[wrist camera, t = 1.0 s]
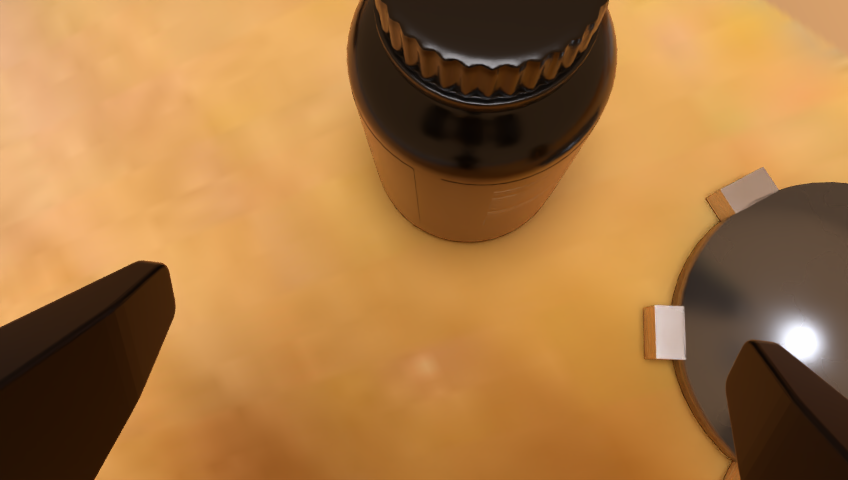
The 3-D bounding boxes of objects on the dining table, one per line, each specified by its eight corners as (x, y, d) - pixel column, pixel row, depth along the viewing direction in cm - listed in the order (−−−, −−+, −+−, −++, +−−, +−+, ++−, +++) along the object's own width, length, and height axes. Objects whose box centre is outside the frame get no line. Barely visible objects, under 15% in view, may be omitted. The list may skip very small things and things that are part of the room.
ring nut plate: (1082, 426, 21) (1119, 430, 20) (786, 600, 20) (807, 614, 19) (860, 116, 24) (882, 103, 22) (587, 261, 23) (595, 255, 22)
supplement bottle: (563, 84, 24) (680, -181, 12) (548, 255, 23) (664, 141, 11) (390, 66, 25) (345, -208, 13) (366, 234, 23) (289, 101, 11)
